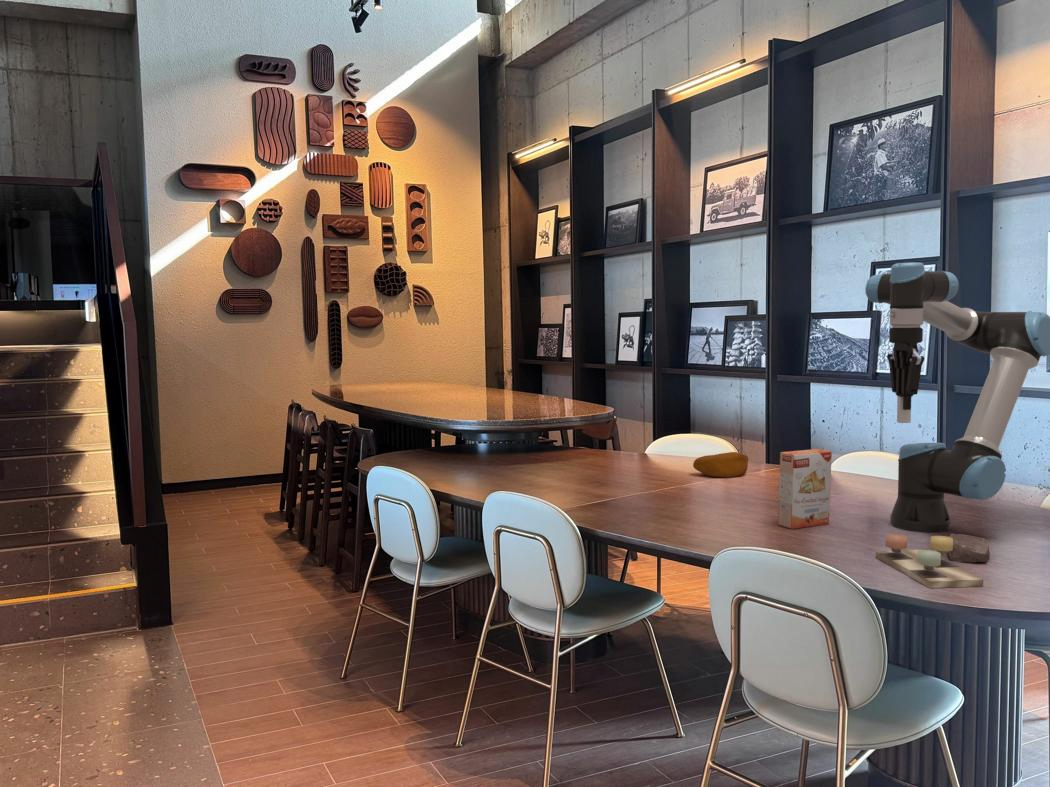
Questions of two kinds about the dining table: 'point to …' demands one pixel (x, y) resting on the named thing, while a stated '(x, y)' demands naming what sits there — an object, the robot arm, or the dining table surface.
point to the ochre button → (941, 544)
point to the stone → (969, 549)
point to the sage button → (929, 559)
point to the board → (936, 578)
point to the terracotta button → (896, 542)
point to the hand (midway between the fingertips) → (903, 422)
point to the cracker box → (804, 488)
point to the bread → (722, 464)
